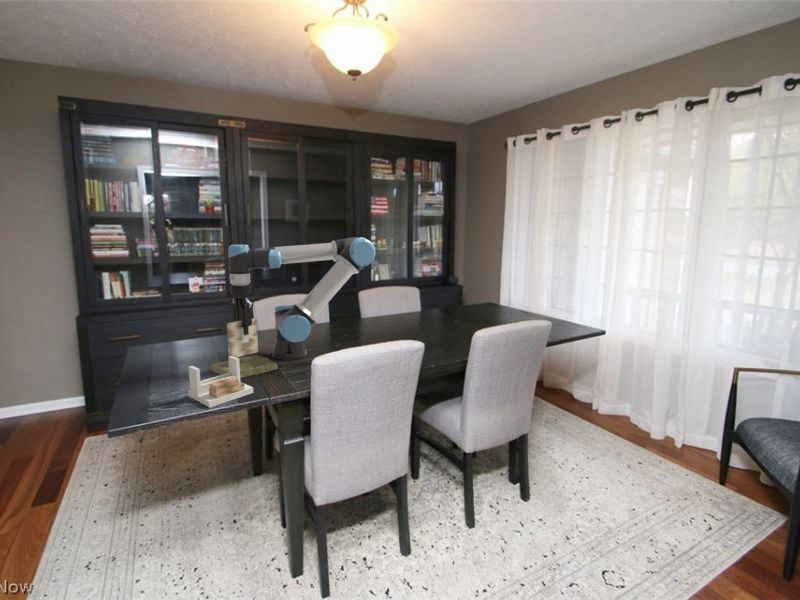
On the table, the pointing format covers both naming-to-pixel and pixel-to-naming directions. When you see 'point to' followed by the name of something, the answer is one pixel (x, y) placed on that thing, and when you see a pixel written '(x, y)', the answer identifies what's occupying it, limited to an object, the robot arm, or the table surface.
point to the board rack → (201, 388)
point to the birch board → (235, 340)
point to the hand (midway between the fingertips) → (243, 341)
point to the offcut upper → (224, 384)
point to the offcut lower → (227, 391)
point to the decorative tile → (246, 366)
